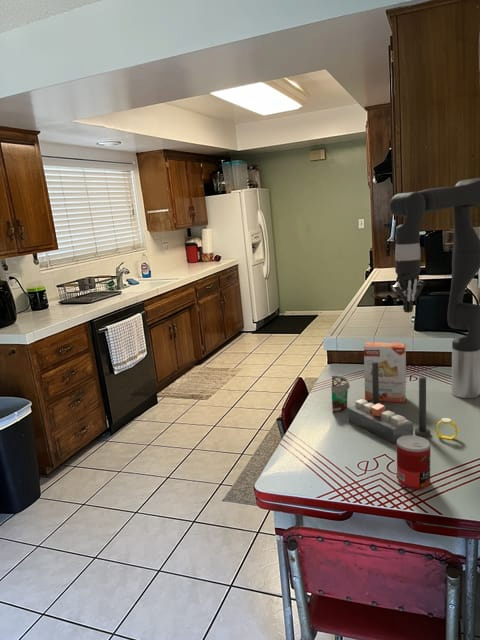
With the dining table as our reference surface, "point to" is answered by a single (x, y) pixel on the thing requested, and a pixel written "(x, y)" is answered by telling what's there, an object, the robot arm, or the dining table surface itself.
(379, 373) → the cracker box
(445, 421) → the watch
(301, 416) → the dining table surface
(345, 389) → the food container
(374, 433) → the breaker strip
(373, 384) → the stand
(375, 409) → the breaker paddle
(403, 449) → the canned food
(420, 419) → the stand
